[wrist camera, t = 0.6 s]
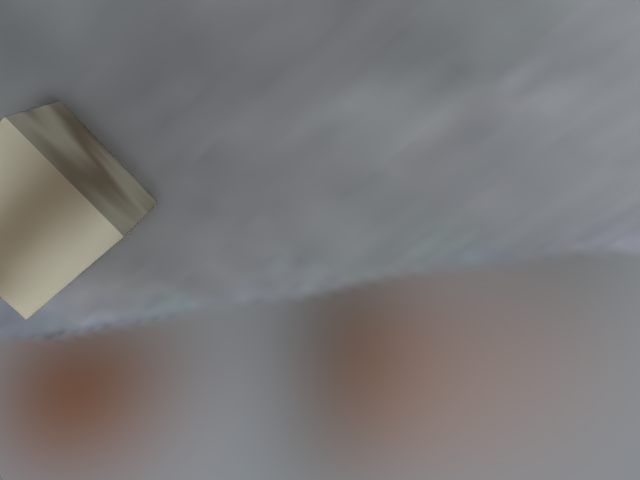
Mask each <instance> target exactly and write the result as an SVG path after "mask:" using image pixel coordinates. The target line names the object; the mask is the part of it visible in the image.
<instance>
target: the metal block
mask: <svg viewBox="0 0 640 480" xmlns="http://www.w3.org/2000/svg"><path fill="white" fill-rule="evenodd" d="M156 204H157V202H156V201H155V200H154V199H153V198H152V197H151V196H150V195H149V193H148V192H147V191H146V190H145V189H144V188H143V187H142V186H141V185H140V184H139V183H138V182H137V181H136V180H135V179H134V178H133V177H132V176H131V175H130V174H129V172H128V171H127V170H126V169H125V168H124V167H123V166H122V165H121V164H120V163H119V162H118V161H117V160H116V159H115V158H114V157H113V156H112V155H111V154H110V153H109V151H108V150H107V149H106V148H105V147H104V146H103V145H102V144H101V143H100V142H99V141H98V140H97V139H96V138H95V137H94V136H93V135H92V134H91V133H90V131H89V130H88V129H87V128H86V127H85V126H84V125H83V124H82V123H81V122H80V121H79V120H78V119H77V118H76V117H75V116H74V115H73V114H72V113H71V112H70V110H69V109H68V108H67V107H66V106H65V105H64V104H63V103H62V102H61V101H59V102H55V103H52V104H48V105H45V106H41V107H38V108H34V109H30V110H27V111H23V112H20V113H16V114H13V115H9V116H6V117H4V118H3V119H2V120H1V121H0V296H1V297H2V298H3V299H4V300H5V301H6V302H7V303H8V304H10V305H11V306H12V307H13V308H14V309H15V310H16V311H17V312H18V313H20V314H21V315H22V316H23V317H24V318H25V319H27V318H29V317H30V316H31V315H32V314H33V313H34V312H36V311H37V310H38V309H39V308H40V307H42V306H43V305H44V304H45V303H46V302H47V301H49V300H50V299H51V298H52V297H53V296H54V295H56V294H57V293H58V292H59V291H60V290H62V289H63V288H64V287H65V286H66V285H67V284H69V283H70V282H71V281H72V280H73V279H74V278H76V277H77V276H78V275H79V274H80V273H82V272H83V271H84V270H85V269H86V268H87V267H89V266H90V265H91V264H92V263H93V262H94V261H96V260H97V259H98V258H99V257H100V256H102V255H103V254H104V253H105V252H106V251H107V250H109V249H110V248H111V247H112V246H113V245H114V244H116V243H117V242H118V241H119V240H120V239H122V238H123V237H124V236H125V235H126V234H127V233H128V232H129V231H130V230H131V229H132V228H133V227H134V226H135V225H136V224H137V223H138V222H139V221H140V220H141V219H142V218H143V217H144V216H145V215H146V214H147V213H148V212H149V211H150V210H151V209H152V208H153V207H154V206H155V205H156Z"/></svg>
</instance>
